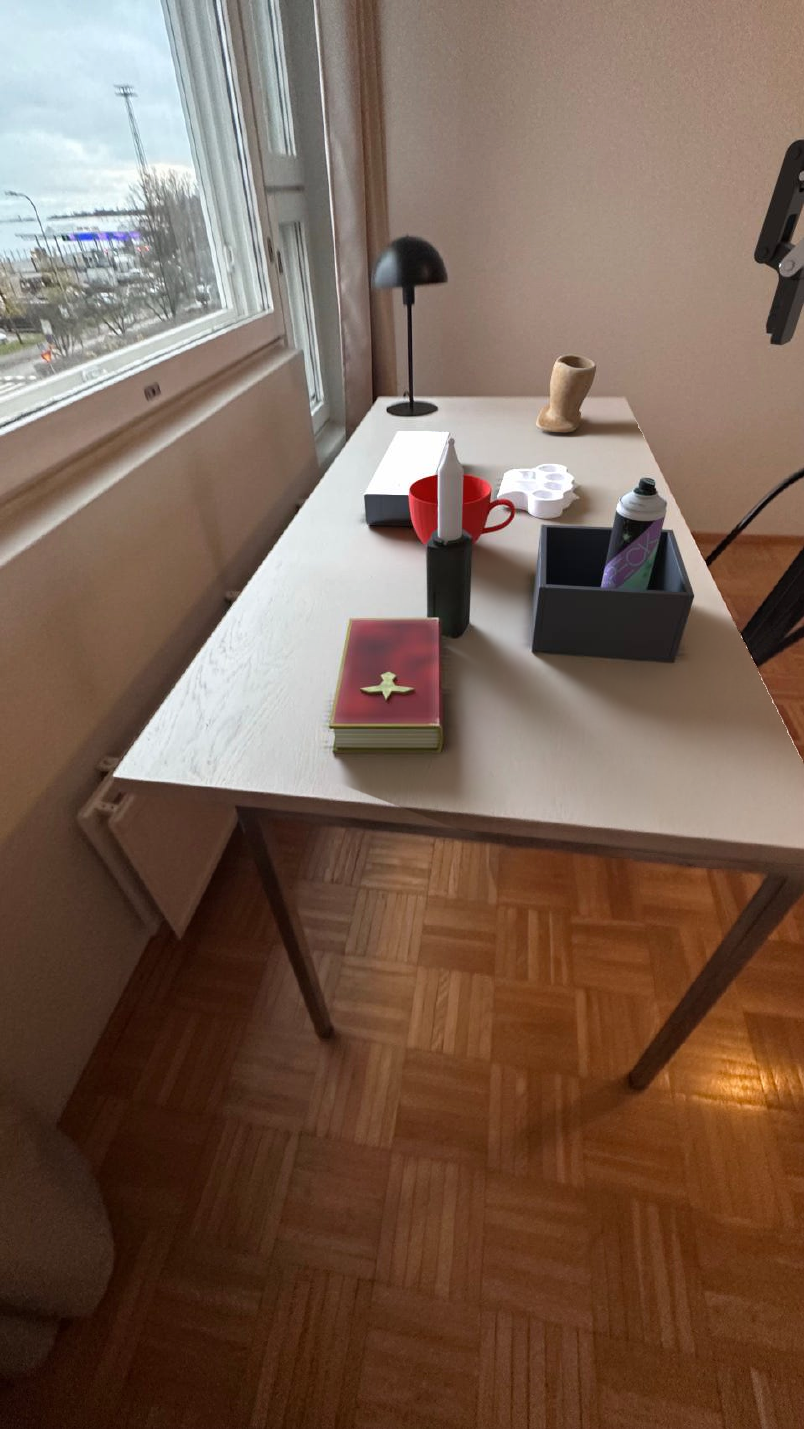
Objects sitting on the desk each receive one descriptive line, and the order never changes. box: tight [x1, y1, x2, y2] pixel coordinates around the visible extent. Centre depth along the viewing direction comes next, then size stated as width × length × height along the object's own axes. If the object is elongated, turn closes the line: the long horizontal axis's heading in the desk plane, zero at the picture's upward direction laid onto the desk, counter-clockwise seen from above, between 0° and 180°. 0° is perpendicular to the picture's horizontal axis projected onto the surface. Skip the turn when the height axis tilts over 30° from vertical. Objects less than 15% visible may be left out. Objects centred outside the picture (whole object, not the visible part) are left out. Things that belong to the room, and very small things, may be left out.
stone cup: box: [535, 353, 597, 433], centre depth 146 cm, size 15×12×15 cm
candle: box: [425, 437, 474, 639], centre depth 79 cm, size 5×5×25 cm
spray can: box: [601, 477, 668, 590], centre depth 77 cm, size 6×6×20 cm
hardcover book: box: [328, 617, 444, 754], centre depth 75 cm, size 12×21×4 cm, turn 178°
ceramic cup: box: [409, 473, 516, 547], centre depth 101 cm, size 13×17×10 cm
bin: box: [531, 524, 695, 664], centre depth 84 cm, size 18×18×10 cm
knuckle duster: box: [496, 463, 581, 520], centre depth 118 cm, size 3×18×15 cm
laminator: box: [363, 430, 451, 527], centre depth 122 cm, size 34×12×6 cm, turn 171°
